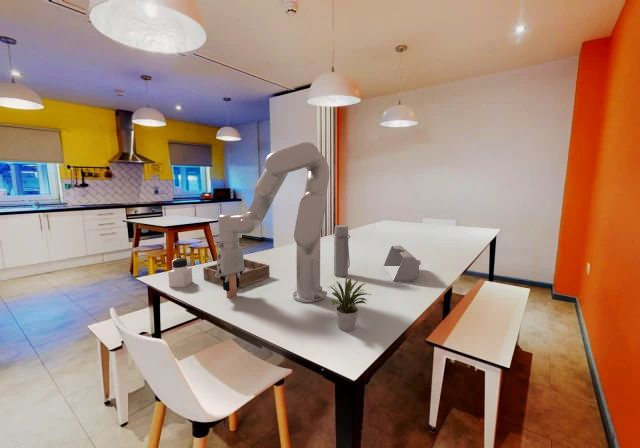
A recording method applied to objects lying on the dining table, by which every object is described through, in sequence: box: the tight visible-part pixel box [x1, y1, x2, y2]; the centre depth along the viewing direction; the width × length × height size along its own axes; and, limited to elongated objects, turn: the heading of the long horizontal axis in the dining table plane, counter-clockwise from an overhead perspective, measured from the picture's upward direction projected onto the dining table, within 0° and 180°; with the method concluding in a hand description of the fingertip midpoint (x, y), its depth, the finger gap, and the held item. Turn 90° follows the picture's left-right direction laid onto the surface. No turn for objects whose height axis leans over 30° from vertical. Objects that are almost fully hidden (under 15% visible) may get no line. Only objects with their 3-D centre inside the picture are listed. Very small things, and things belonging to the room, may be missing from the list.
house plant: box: [329, 277, 372, 332], centre depth 88 cm, size 14×14×16 cm
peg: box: [225, 273, 238, 299], centre depth 115 cm, size 4×4×10 cm
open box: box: [202, 258, 270, 288], centre depth 137 cm, size 22×22×6 cm
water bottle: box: [333, 224, 351, 278], centre depth 140 cm, size 9×8×25 cm
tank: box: [383, 245, 422, 282], centre depth 144 cm, size 25×16×12 cm, turn 178°
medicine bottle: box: [167, 257, 193, 288], centre depth 128 cm, size 7×7×12 cm
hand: (231, 288), depth 115 cm, fingers closed on peg, 4 cm apart
